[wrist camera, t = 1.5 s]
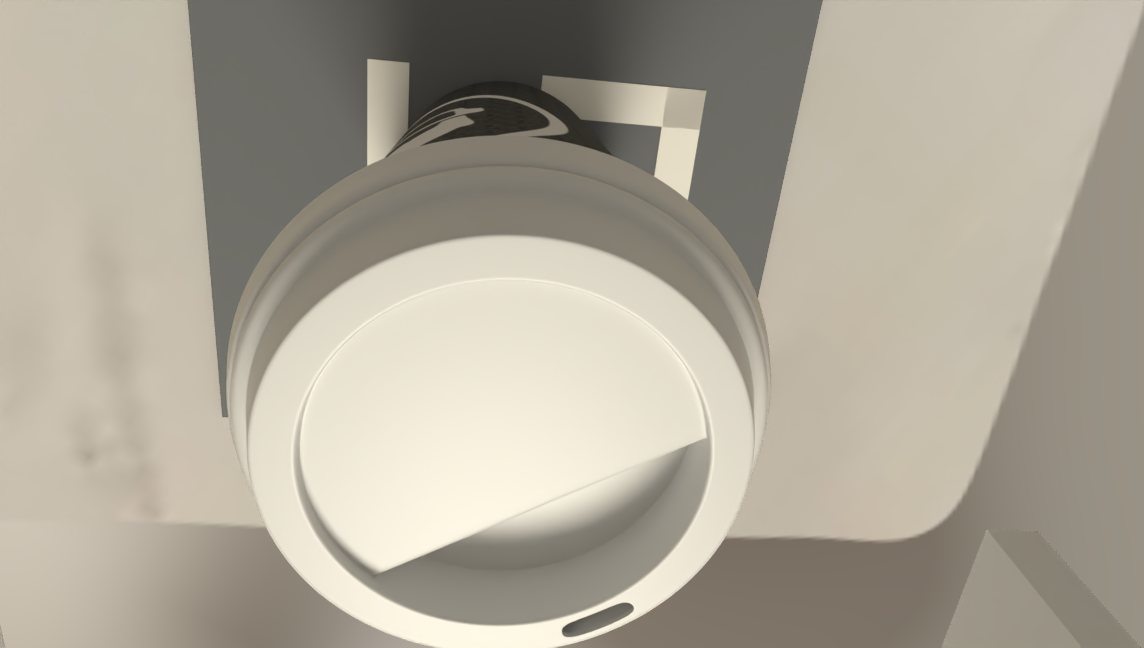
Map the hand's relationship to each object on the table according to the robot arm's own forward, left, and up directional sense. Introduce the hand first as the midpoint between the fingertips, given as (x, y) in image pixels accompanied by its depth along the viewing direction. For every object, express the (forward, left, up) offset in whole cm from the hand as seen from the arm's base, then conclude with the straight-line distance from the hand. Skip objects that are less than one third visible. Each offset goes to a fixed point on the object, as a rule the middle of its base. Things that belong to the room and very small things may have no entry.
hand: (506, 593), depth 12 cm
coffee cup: (0, 0, -18) cm, 18 cm away
